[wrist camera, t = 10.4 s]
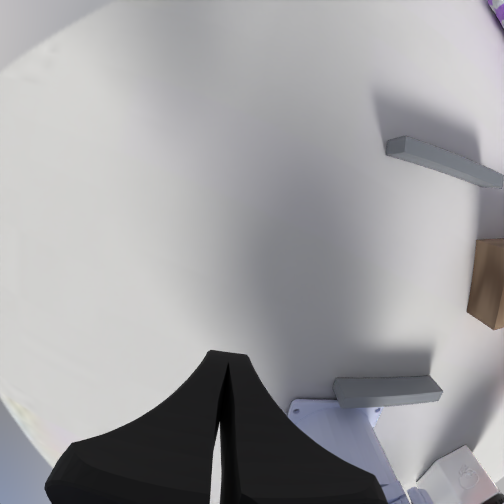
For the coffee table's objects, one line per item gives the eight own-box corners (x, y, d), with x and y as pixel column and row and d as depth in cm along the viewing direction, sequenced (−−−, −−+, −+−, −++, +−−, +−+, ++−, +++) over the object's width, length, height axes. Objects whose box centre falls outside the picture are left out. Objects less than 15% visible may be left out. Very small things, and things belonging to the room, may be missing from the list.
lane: (425, 384, 22) (438, 400, 19) (332, 388, 21) (340, 408, 19) (482, 174, 18) (503, 175, 16) (387, 140, 17) (405, 135, 15)
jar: (479, 434, 24) (523, 493, 13) (466, 467, 26) (500, 521, 15) (419, 466, 25) (457, 538, 13) (412, 495, 27) (440, 557, 15)
